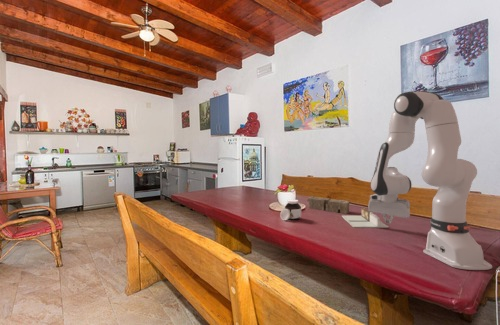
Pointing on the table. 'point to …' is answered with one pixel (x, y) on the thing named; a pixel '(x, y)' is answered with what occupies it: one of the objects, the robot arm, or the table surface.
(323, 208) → the grey stone bar
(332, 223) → the table surface
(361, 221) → the card
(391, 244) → the table surface
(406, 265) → the table surface
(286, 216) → the spread jar
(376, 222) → the fence gate
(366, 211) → the fence fixed
